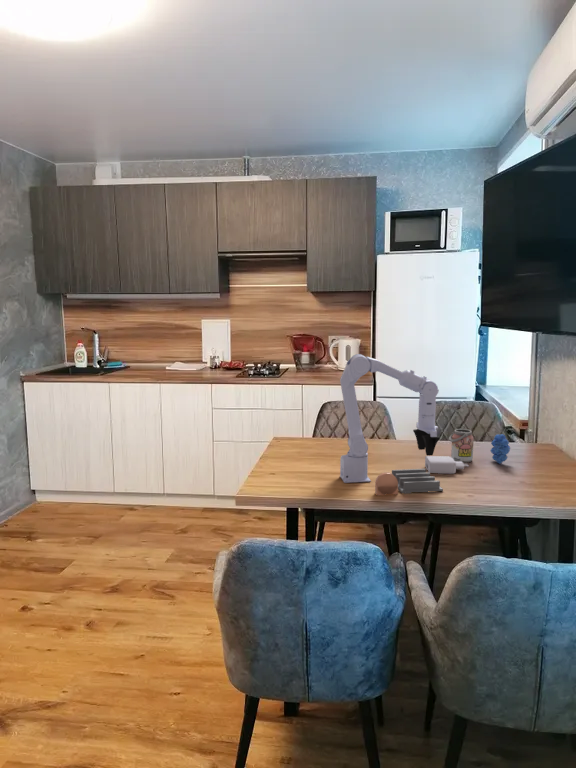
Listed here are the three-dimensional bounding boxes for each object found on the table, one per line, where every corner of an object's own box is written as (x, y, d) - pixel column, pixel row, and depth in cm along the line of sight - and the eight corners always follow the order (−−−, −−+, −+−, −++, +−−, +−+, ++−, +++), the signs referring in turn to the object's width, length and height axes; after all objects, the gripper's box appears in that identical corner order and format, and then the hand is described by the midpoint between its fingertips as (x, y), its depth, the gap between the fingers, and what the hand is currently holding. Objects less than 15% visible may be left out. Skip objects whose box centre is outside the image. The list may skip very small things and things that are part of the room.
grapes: (517, 467, 208) (519, 436, 206) (500, 468, 207) (502, 437, 205) (502, 459, 219) (504, 429, 218) (486, 459, 219) (487, 430, 217)
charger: (471, 475, 200) (429, 474, 201) (464, 467, 209) (424, 467, 210) (471, 462, 199) (429, 461, 200) (465, 455, 208) (425, 455, 209)
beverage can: (452, 463, 213) (453, 433, 212) (445, 457, 222) (446, 428, 220) (475, 463, 214) (477, 433, 212) (468, 457, 222) (469, 428, 220)
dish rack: (401, 493, 180) (402, 483, 180) (388, 479, 195) (388, 469, 194) (442, 491, 182) (443, 481, 181) (426, 477, 196) (427, 468, 196)
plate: (376, 495, 179) (377, 474, 178) (375, 493, 181) (375, 472, 180) (397, 494, 179) (398, 473, 178) (395, 492, 181) (396, 471, 180)
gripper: (446, 418, 185) (444, 457, 187) (430, 410, 199) (428, 446, 201) (426, 418, 184) (424, 458, 186) (411, 410, 198) (410, 447, 200)
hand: (425, 452), depth 193 cm, fingers open, 7 cm apart
